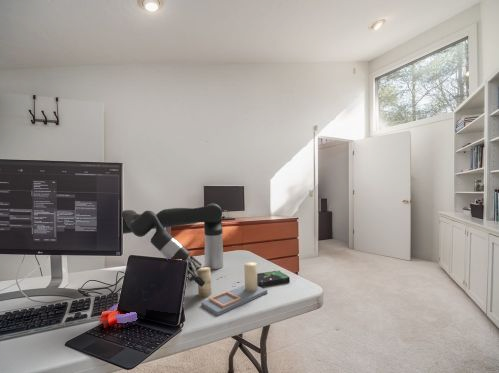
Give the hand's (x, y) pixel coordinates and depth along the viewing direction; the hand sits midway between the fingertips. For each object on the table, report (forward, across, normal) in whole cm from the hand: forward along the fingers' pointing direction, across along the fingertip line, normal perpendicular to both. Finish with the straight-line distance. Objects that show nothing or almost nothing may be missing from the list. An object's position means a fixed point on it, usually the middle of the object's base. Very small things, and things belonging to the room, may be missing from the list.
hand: (205, 280), depth 101 cm
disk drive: (+23, -12, +14) cm, 30 cm away
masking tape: (-12, +16, -21) cm, 29 cm away
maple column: (+4, 0, -4) cm, 6 cm away
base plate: (+12, +5, +5) cm, 14 cm away
